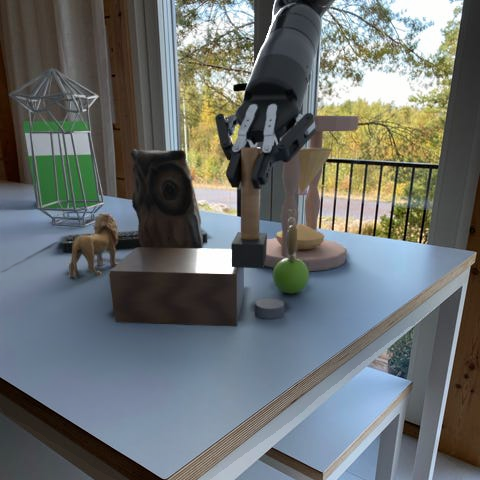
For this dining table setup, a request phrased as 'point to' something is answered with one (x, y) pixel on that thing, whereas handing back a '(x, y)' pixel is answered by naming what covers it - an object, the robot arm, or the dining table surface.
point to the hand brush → (249, 218)
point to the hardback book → (46, 163)
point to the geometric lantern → (37, 89)
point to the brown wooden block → (177, 287)
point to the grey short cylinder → (269, 308)
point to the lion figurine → (95, 245)
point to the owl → (165, 200)
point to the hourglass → (309, 202)
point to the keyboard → (123, 240)
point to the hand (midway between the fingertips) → (244, 183)
